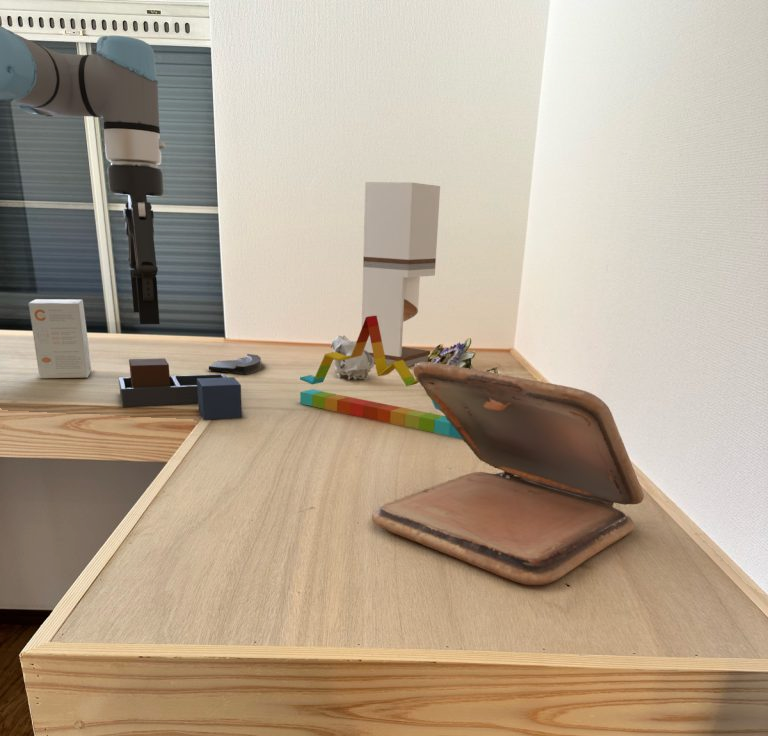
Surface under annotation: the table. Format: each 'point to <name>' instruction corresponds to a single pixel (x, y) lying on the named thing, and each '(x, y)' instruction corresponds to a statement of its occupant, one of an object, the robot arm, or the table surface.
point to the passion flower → (455, 355)
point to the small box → (60, 338)
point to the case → (521, 477)
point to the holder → (163, 391)
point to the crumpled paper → (352, 366)
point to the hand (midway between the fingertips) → (145, 317)
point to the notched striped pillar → (397, 259)
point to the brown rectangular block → (149, 372)
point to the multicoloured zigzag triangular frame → (368, 407)
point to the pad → (219, 398)
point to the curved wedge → (238, 365)
